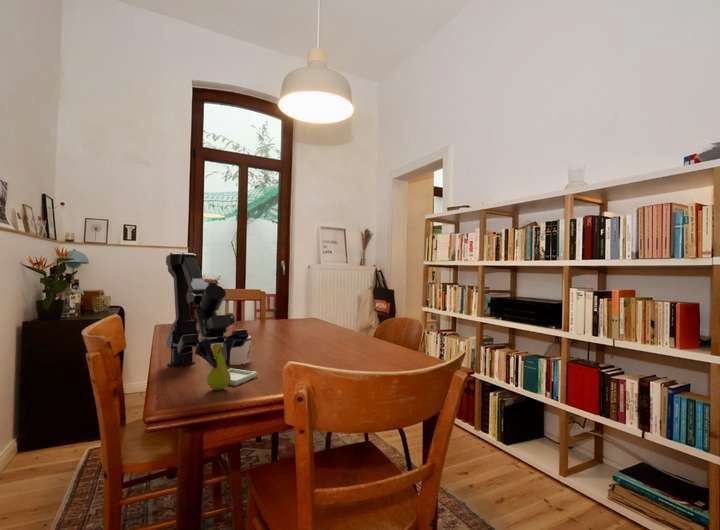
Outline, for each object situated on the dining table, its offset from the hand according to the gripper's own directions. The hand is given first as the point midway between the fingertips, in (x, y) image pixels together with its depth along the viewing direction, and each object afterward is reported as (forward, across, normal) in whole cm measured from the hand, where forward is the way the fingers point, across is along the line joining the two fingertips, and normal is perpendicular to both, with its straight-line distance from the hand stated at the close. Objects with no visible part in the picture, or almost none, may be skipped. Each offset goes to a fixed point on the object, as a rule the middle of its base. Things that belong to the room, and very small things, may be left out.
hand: (222, 366), depth 102 cm
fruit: (+4, 0, +6) cm, 7 cm away
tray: (-1, +7, +11) cm, 13 cm away
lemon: (-18, +13, +28) cm, 36 cm away
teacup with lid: (-15, +17, +25) cm, 34 cm away
